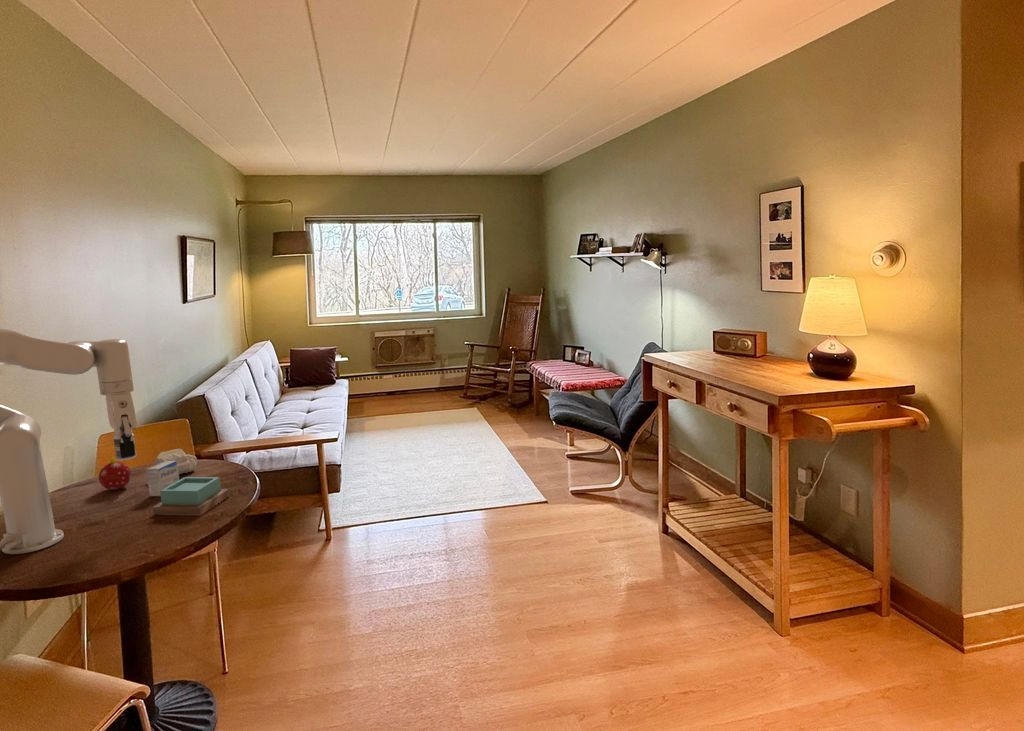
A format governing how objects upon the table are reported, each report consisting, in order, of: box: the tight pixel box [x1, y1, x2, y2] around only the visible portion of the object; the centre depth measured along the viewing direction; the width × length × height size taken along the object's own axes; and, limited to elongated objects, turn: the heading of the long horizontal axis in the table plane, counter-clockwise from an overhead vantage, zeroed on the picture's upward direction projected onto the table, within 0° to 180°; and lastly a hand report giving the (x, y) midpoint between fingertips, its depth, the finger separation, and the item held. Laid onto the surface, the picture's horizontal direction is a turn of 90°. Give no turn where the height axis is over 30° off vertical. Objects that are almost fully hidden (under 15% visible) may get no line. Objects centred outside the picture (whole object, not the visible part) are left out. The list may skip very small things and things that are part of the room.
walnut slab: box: [152, 488, 231, 517], centre depth 183 cm, size 14×14×3 cm
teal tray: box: [160, 476, 222, 505], centre depth 183 cm, size 11×11×4 cm
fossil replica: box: [154, 448, 198, 476], centre depth 212 cm, size 12×8×10 cm
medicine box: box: [145, 461, 180, 497], centre depth 195 cm, size 8×4×9 cm, turn 168°
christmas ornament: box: [98, 457, 132, 491], centre depth 200 cm, size 9×9×10 cm
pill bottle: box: [113, 426, 137, 461], centre depth 170 cm, size 5×5×8 cm
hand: (125, 453), depth 171 cm, fingers closed on pill bottle, 4 cm apart
